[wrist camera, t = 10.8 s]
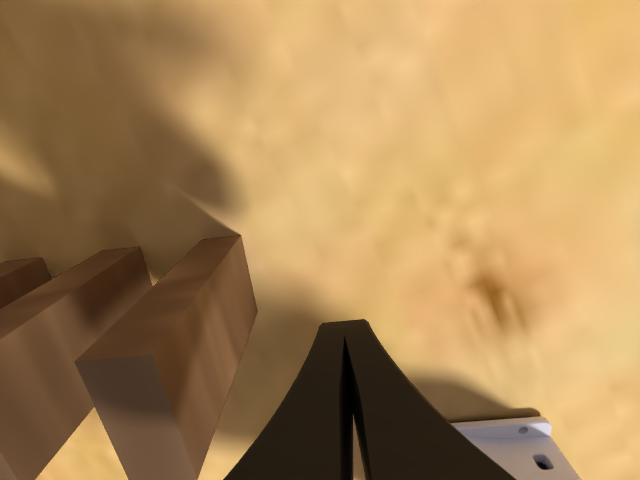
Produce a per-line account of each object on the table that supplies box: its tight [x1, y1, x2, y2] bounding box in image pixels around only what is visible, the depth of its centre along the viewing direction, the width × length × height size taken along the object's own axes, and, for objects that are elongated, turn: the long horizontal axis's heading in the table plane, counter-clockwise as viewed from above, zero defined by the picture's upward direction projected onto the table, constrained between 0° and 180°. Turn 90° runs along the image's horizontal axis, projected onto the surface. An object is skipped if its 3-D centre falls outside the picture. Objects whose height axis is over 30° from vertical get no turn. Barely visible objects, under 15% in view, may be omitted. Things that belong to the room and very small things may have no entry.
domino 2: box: [74, 235, 257, 480], centre depth 12 cm, size 2×4×8 cm, turn 7°
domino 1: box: [0, 247, 153, 480], centre depth 12 cm, size 2×4×8 cm, turn 7°
